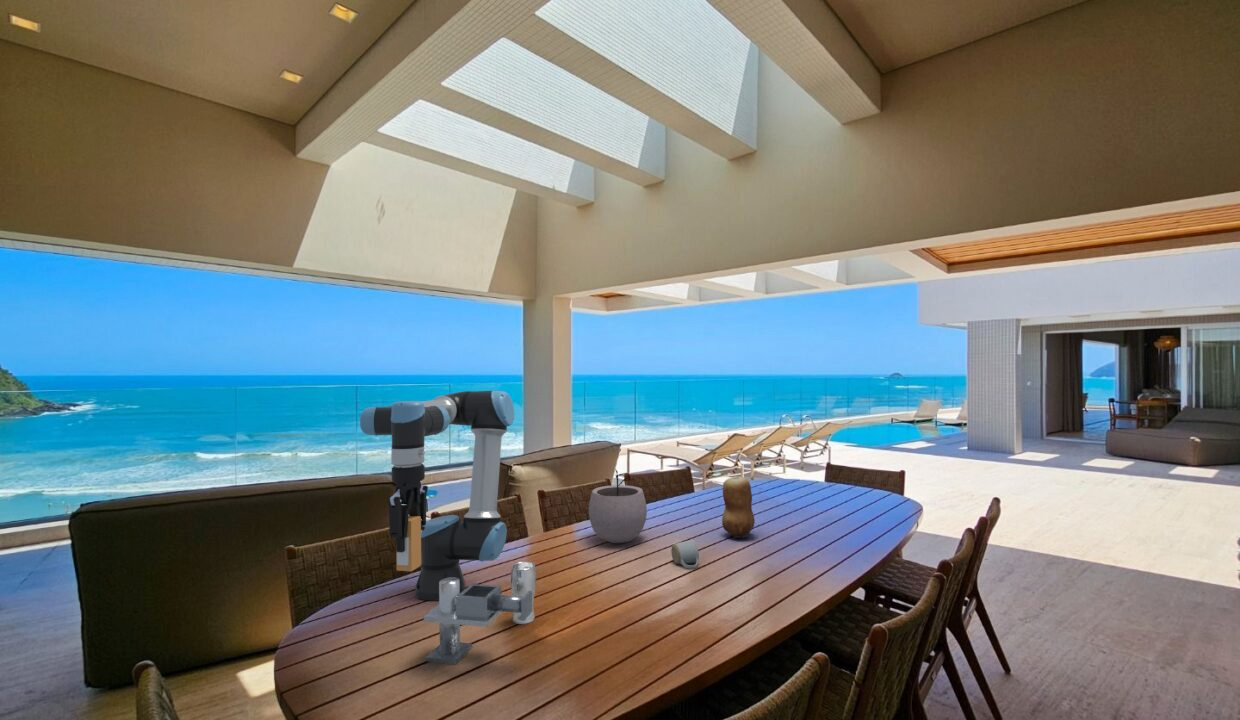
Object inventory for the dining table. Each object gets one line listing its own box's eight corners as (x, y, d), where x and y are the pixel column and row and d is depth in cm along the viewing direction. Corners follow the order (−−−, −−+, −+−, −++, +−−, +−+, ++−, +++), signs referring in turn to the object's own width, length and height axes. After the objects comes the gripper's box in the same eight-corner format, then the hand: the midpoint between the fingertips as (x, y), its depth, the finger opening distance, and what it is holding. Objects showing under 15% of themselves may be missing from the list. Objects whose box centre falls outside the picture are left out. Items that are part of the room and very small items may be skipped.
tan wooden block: (396, 570, 127) (396, 520, 128) (406, 564, 131) (406, 515, 131) (411, 571, 126) (411, 520, 127) (421, 565, 130) (420, 516, 131)
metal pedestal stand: (423, 663, 127) (423, 587, 128) (445, 642, 137) (445, 572, 138) (487, 670, 124) (487, 592, 124) (505, 648, 134) (504, 576, 134)
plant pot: (648, 550, 207) (647, 473, 207) (587, 551, 207) (586, 473, 208) (646, 532, 231) (645, 462, 231) (591, 532, 231) (590, 463, 232)
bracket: (456, 617, 127) (456, 596, 127) (472, 603, 135) (471, 583, 135) (522, 623, 124) (521, 601, 124) (534, 608, 131) (534, 588, 132)
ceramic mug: (670, 560, 195) (669, 539, 195) (690, 558, 197) (690, 537, 197) (682, 571, 185) (682, 549, 185) (703, 568, 187) (703, 546, 187)
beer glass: (524, 627, 145) (524, 571, 145) (505, 621, 149) (505, 567, 149) (541, 617, 151) (540, 564, 151) (522, 611, 154) (522, 559, 155)
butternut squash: (718, 532, 228) (717, 474, 228) (748, 531, 229) (747, 473, 230) (728, 543, 214) (727, 480, 215) (760, 541, 215) (759, 479, 216)
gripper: (400, 471, 120) (401, 575, 120) (440, 459, 137) (441, 550, 136) (371, 470, 122) (372, 573, 121) (414, 458, 138) (415, 548, 138)
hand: (408, 560), depth 129 cm, fingers closed on tan wooden block, 4 cm apart
